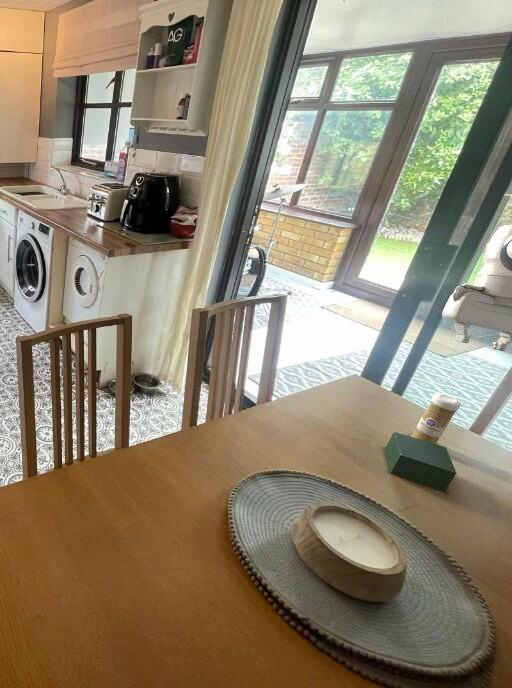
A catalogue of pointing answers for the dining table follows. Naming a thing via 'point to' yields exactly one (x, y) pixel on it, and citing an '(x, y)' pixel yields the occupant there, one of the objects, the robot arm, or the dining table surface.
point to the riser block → (420, 461)
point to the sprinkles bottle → (436, 418)
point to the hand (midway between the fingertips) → (479, 346)
